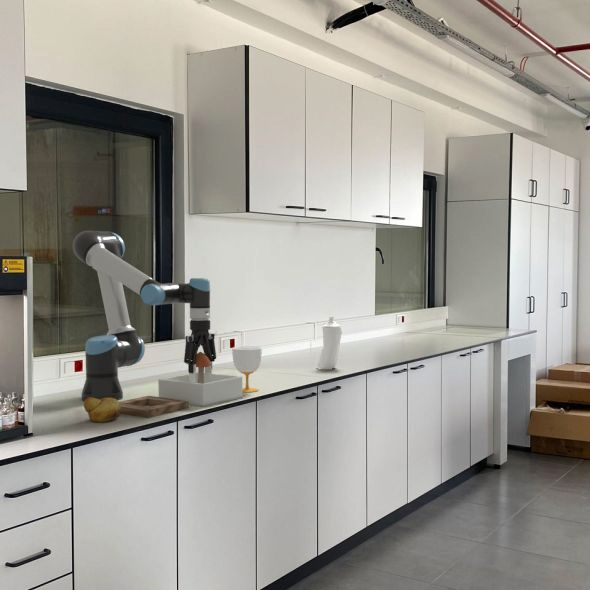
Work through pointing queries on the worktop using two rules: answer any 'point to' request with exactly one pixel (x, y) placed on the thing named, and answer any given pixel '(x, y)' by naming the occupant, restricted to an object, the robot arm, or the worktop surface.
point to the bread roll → (102, 409)
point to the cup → (247, 362)
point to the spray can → (330, 345)
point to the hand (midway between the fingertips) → (200, 380)
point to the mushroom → (201, 365)
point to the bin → (201, 389)
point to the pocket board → (156, 403)
